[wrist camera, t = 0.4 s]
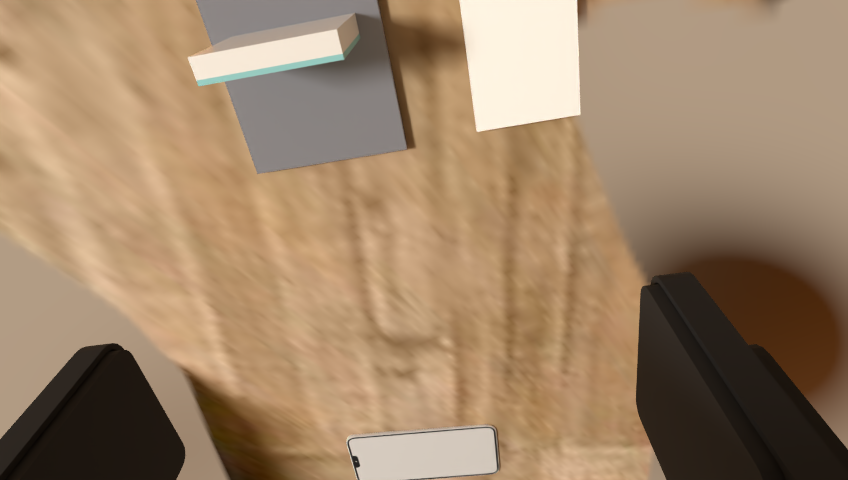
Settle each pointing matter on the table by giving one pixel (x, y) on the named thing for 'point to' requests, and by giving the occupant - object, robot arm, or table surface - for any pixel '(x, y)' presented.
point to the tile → (276, 50)
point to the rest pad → (521, 60)
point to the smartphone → (425, 453)
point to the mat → (312, 87)
